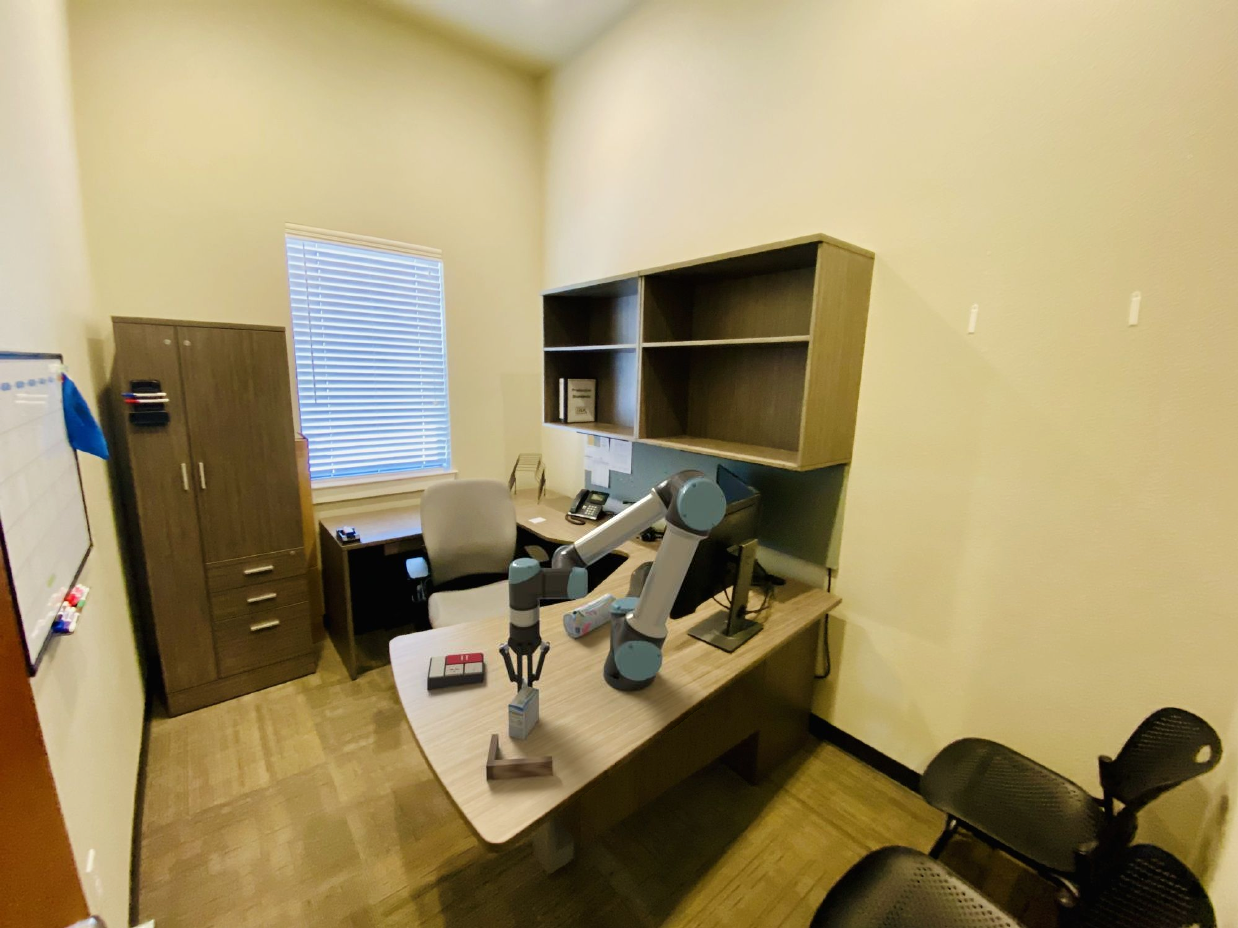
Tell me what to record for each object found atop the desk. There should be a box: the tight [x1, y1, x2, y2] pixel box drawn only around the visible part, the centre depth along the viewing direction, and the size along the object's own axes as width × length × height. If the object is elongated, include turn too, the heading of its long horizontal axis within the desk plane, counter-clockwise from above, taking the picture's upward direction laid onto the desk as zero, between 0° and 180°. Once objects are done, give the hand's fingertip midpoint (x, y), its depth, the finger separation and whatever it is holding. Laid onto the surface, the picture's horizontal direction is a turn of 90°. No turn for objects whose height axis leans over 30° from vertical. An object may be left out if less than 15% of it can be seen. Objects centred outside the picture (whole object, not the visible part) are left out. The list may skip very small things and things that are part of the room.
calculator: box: [426, 652, 485, 691], centre depth 142 cm, size 11×4×15 cm
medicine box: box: [507, 686, 540, 740], centre depth 121 cm, size 8×4×9 cm, turn 163°
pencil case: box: [562, 593, 617, 639], centre depth 170 cm, size 21×9×10 cm, turn 137°
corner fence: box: [485, 733, 553, 781], centre depth 111 cm, size 14×10×4 cm
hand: (525, 703), depth 128 cm, fingers closed
